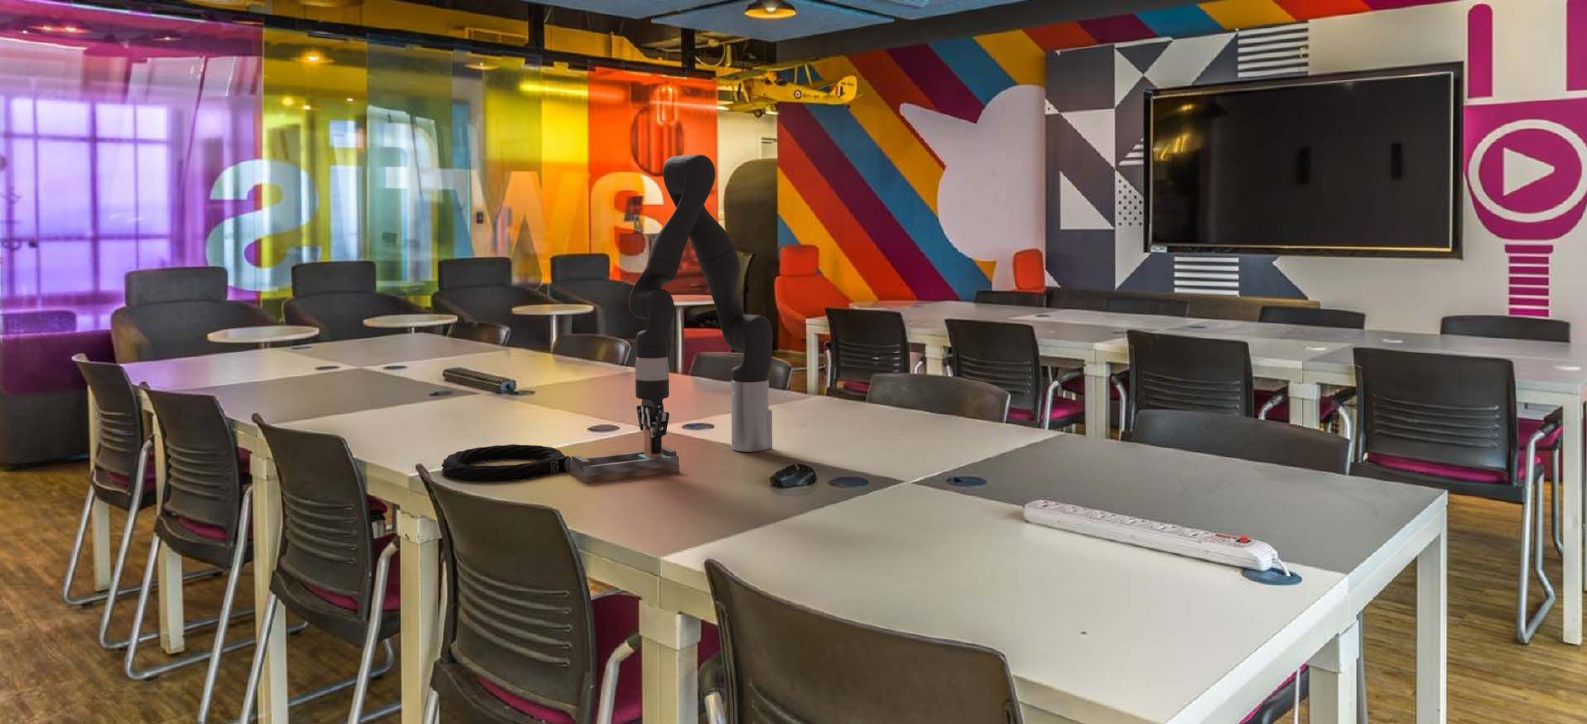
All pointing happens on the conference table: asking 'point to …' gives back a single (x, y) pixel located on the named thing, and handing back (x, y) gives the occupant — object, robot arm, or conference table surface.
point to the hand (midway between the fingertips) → (653, 451)
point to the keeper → (649, 447)
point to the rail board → (622, 466)
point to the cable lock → (549, 464)
